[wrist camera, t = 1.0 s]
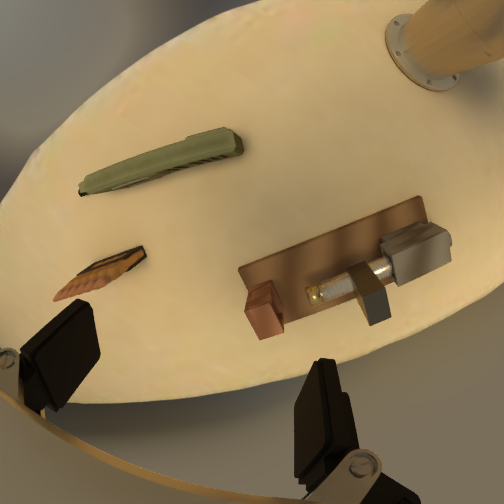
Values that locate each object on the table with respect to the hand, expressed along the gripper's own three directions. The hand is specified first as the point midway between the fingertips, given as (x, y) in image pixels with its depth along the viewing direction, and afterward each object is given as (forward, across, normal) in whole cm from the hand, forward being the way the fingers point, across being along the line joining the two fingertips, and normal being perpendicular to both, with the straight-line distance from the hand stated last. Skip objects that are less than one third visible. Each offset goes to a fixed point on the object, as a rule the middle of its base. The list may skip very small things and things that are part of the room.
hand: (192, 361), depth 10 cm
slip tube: (+22, -16, +1) cm, 28 cm away
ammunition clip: (+26, +19, +10) cm, 34 cm away
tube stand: (+26, -13, +4) cm, 29 cm away
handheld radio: (+26, +14, -4) cm, 30 cm away
